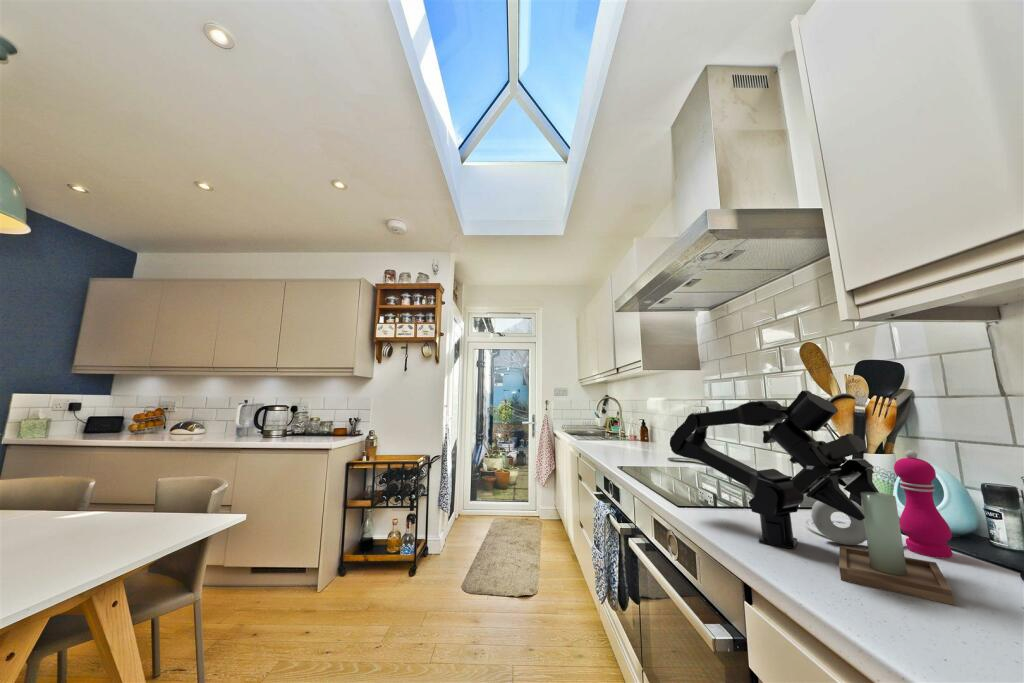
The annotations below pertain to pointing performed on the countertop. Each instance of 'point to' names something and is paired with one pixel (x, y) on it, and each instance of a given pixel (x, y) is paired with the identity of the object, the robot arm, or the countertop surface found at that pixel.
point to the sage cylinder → (883, 533)
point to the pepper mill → (921, 509)
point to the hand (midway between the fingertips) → (876, 515)
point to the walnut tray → (896, 576)
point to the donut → (839, 535)
